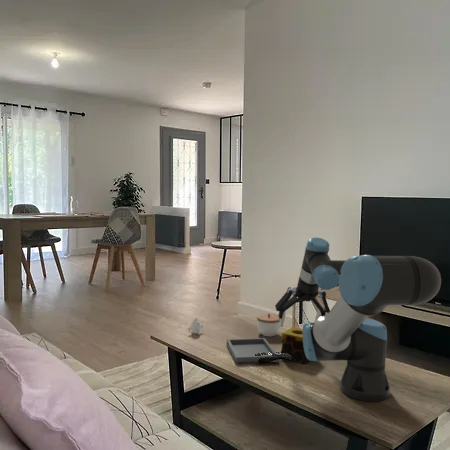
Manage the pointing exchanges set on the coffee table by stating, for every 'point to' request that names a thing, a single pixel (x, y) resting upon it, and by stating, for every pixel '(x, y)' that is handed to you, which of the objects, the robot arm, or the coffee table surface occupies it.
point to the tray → (248, 349)
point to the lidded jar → (268, 324)
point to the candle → (294, 345)
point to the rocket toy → (195, 326)
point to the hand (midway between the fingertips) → (298, 325)
